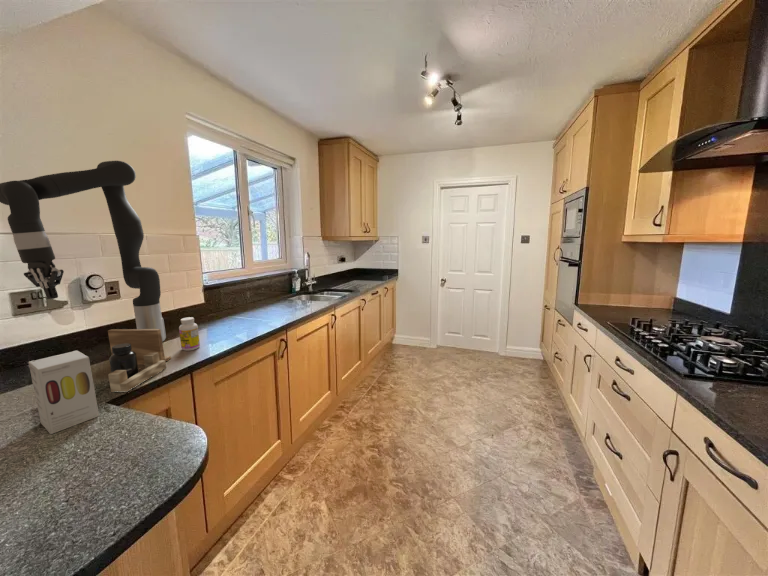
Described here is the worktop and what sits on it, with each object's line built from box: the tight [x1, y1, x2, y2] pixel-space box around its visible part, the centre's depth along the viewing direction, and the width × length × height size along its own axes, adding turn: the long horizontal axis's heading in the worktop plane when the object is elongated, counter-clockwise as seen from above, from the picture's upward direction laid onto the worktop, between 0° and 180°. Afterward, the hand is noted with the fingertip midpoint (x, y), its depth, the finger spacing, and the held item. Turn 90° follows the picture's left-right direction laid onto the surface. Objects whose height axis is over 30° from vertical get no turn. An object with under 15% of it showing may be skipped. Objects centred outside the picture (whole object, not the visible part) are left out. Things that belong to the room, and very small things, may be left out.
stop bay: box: [107, 353, 167, 392], centre depth 102 cm, size 17×5×6 cm, turn 0°
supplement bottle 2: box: [178, 316, 201, 352], centre depth 129 cm, size 7×7×13 cm
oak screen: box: [107, 328, 172, 365], centre depth 116 cm, size 5×18×13 cm, turn 90°
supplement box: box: [28, 349, 100, 435], centre depth 80 cm, size 10×9×17 cm
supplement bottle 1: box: [108, 343, 140, 379], centre depth 102 cm, size 7×7×12 cm
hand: (52, 298), depth 104 cm, fingers closed
